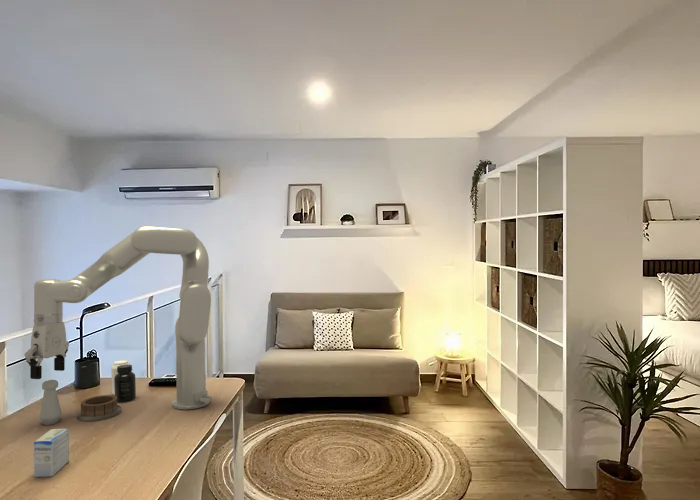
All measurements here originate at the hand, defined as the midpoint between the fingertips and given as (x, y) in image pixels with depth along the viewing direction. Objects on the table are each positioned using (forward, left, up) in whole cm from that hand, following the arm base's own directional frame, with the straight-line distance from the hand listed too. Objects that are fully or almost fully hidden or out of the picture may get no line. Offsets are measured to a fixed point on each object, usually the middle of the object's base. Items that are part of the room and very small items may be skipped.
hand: (48, 374), depth 149 cm
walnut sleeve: (-6, -12, -15) cm, 21 cm away
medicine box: (-33, +16, -15) cm, 40 cm away
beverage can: (+7, -28, -15) cm, 33 cm away
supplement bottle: (0, -25, -15) cm, 30 cm away
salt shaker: (0, 0, -15) cm, 15 cm away
